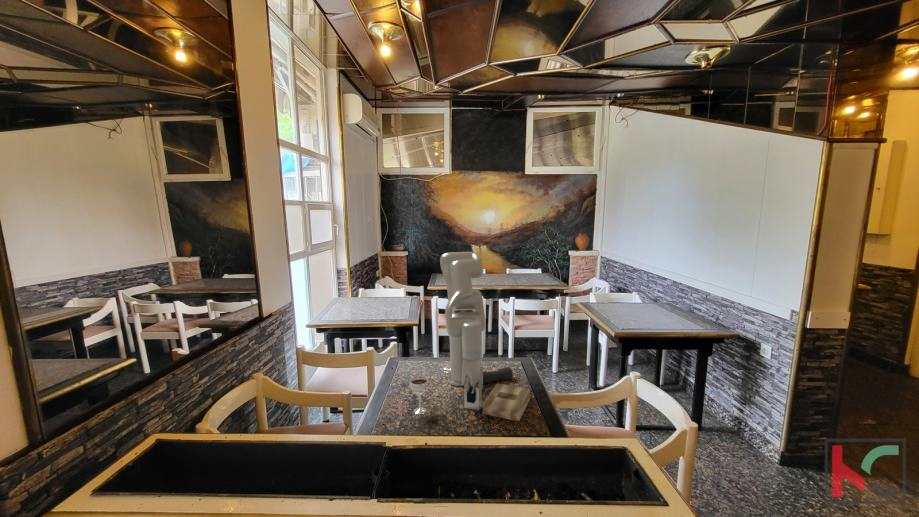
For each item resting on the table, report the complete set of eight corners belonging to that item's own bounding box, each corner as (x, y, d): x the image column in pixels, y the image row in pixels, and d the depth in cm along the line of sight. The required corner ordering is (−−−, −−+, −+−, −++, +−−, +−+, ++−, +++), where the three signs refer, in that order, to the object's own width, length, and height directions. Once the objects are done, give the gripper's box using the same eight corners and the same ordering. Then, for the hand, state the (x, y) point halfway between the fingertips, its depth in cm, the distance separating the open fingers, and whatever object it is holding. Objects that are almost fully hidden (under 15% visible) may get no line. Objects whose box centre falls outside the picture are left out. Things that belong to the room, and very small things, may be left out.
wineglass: (421, 417, 125) (420, 386, 124) (407, 412, 129) (406, 382, 128) (432, 409, 131) (431, 379, 130) (418, 404, 134) (417, 375, 133)
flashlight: (483, 386, 149) (482, 374, 149) (478, 381, 154) (478, 370, 154) (513, 380, 155) (513, 369, 154) (508, 375, 160) (507, 364, 159)
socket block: (482, 413, 127) (482, 403, 126) (497, 392, 143) (497, 383, 143) (519, 421, 121) (519, 410, 121) (530, 398, 137) (530, 389, 137)
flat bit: (464, 407, 131) (464, 385, 131) (467, 404, 134) (467, 382, 133) (479, 410, 129) (478, 388, 128) (481, 407, 132) (481, 384, 131)
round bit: (469, 390, 146) (469, 370, 145) (474, 385, 150) (473, 365, 149) (480, 392, 143) (480, 372, 143) (484, 387, 148) (484, 367, 147)
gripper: (471, 345, 139) (472, 388, 140) (454, 360, 124) (455, 408, 125) (488, 348, 136) (489, 391, 137) (473, 363, 121) (474, 412, 122)
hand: (473, 399), depth 131 cm, fingers open, 3 cm apart
